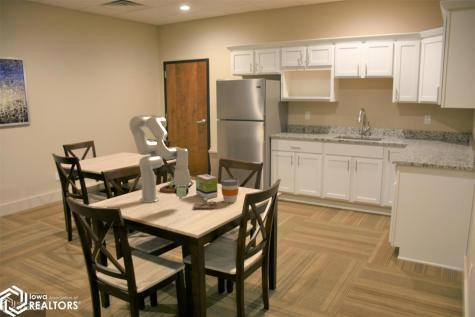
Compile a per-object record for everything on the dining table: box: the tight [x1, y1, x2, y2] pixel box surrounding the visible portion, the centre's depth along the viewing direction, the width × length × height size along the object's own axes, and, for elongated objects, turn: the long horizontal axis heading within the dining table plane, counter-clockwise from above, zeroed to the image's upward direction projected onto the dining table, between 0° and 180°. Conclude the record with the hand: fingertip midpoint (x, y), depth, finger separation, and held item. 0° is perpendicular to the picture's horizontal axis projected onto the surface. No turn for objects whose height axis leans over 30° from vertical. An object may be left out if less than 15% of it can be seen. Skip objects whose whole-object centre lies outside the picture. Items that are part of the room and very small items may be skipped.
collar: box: [176, 185, 187, 200], centre depth 246 cm, size 10×6×6 cm, turn 2°
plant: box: [159, 176, 176, 194], centre depth 295 cm, size 20×20×11 cm
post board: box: [193, 197, 217, 211], centre depth 251 cm, size 14×14×5 cm
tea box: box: [195, 173, 218, 200], centre depth 277 cm, size 15×10×15 cm, turn 37°
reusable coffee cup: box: [220, 177, 240, 203], centre depth 263 cm, size 13×13×15 cm
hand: (181, 194), depth 248 cm, fingers closed on collar, 6 cm apart
